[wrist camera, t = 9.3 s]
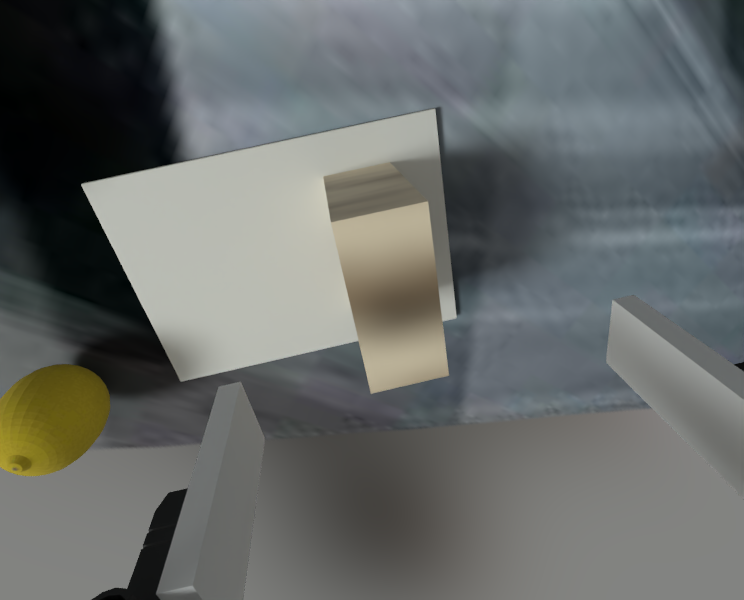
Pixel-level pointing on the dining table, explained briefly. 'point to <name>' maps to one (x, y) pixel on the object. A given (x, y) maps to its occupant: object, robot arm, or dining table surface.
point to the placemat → (258, 242)
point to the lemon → (51, 419)
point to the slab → (389, 274)
